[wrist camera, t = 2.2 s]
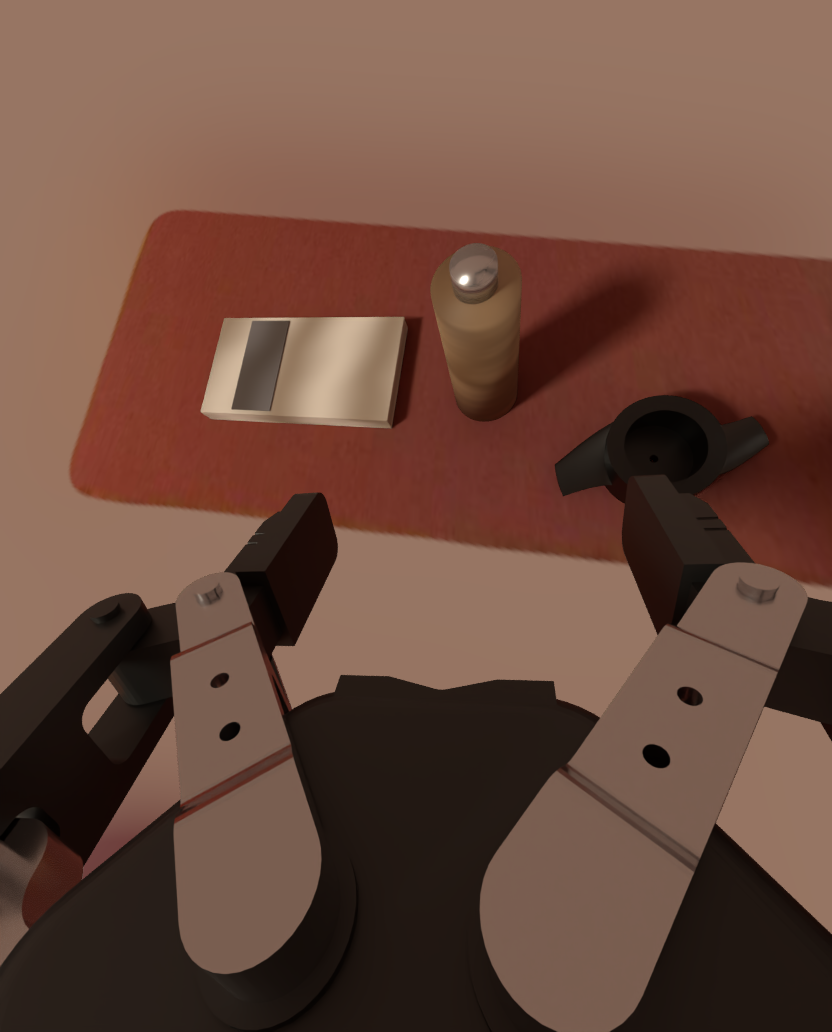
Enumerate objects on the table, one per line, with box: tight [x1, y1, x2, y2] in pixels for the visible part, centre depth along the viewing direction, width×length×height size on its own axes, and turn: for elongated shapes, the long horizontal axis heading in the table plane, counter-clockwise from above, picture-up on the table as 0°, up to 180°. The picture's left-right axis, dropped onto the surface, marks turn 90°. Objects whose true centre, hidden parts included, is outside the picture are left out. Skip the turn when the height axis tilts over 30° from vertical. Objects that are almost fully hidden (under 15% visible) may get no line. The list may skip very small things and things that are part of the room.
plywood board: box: [201, 317, 408, 428], centre depth 32 cm, size 14×8×1 cm, turn 82°
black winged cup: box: [555, 395, 769, 503], centre depth 25 cm, size 8×10×3 cm
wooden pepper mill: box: [430, 243, 522, 421], centre depth 24 cm, size 4×4×11 cm
